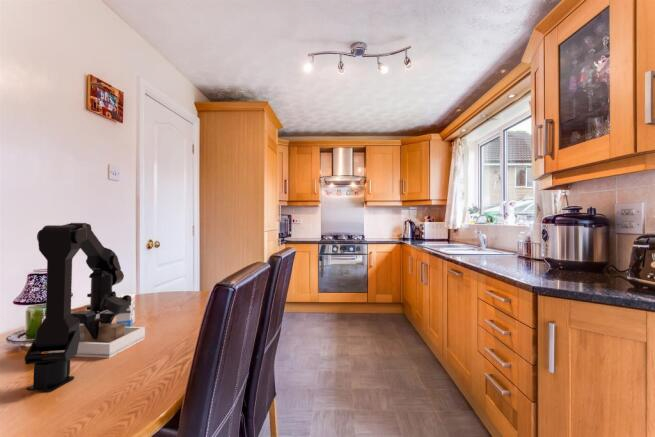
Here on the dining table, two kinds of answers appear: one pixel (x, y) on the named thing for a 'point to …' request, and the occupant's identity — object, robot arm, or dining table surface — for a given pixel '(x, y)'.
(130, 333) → the bin
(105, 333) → the strut
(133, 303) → the ink box
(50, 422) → the dining table surface
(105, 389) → the dining table surface
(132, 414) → the dining table surface
